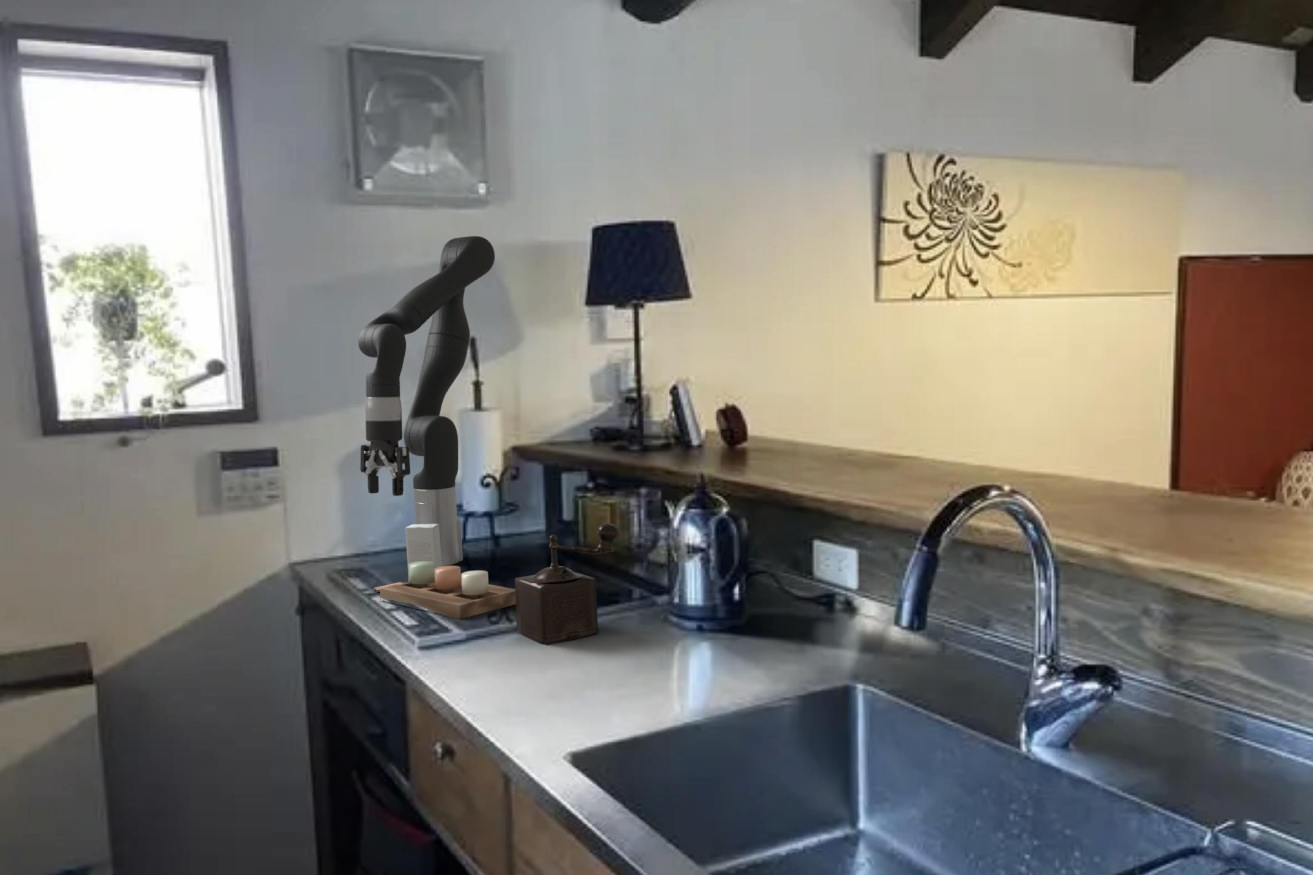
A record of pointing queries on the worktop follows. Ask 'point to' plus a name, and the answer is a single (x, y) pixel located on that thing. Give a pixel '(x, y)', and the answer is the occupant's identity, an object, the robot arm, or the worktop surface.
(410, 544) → the skincare box
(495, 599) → the button board
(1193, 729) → the worktop surface
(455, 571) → the peach rounded piece
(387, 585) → the tile
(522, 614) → the coffee grinder
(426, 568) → the button sage
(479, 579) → the button cream
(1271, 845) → the worktop surface
